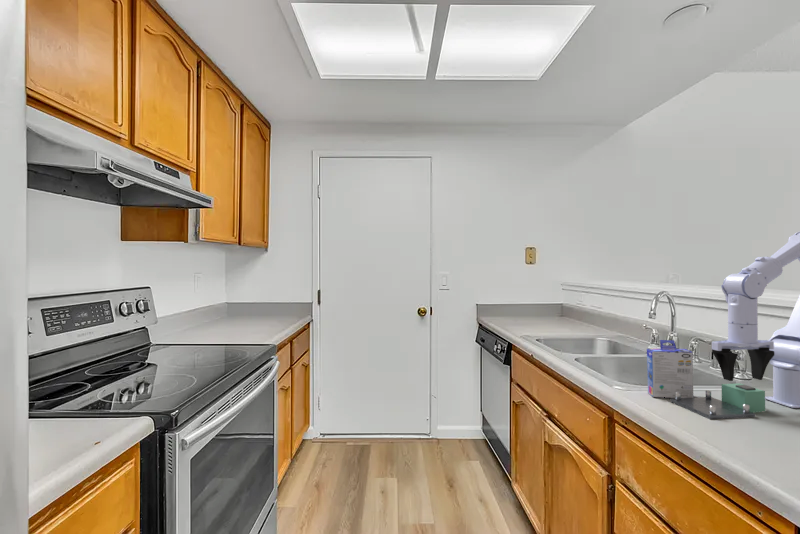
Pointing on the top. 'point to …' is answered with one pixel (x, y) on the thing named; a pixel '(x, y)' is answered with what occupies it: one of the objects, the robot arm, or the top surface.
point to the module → (744, 396)
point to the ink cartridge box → (670, 371)
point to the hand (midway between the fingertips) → (742, 379)
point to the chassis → (712, 407)
